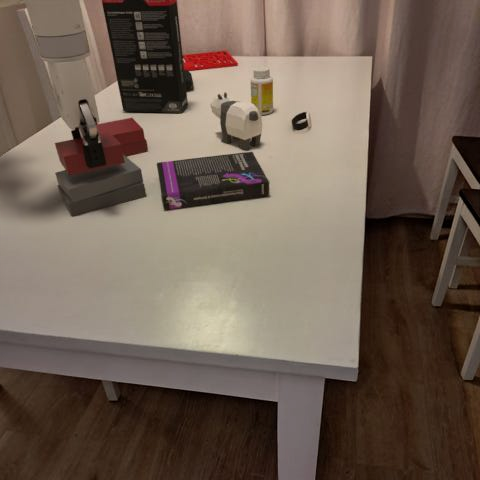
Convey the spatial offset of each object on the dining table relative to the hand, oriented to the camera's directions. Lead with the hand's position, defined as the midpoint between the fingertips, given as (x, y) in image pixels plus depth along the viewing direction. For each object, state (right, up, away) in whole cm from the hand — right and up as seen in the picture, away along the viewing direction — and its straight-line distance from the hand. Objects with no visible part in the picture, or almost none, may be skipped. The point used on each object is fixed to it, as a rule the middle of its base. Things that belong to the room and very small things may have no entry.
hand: (91, 157), depth 83 cm
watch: (+41, +17, +28) cm, 53 cm away
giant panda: (+26, +12, +23) cm, 36 cm away
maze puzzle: (+14, +62, +81) cm, 103 cm away
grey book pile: (+1, -6, +5) cm, 7 cm away
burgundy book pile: (-1, +9, +22) cm, 24 cm away
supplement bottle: (+32, +25, +37) cm, 55 cm away
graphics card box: (+4, +28, +43) cm, 51 cm away
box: (+21, -4, +6) cm, 22 cm away
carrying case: (+7, +42, +59) cm, 73 cm away
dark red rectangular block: (0, -1, +1) cm, 1 cm away
